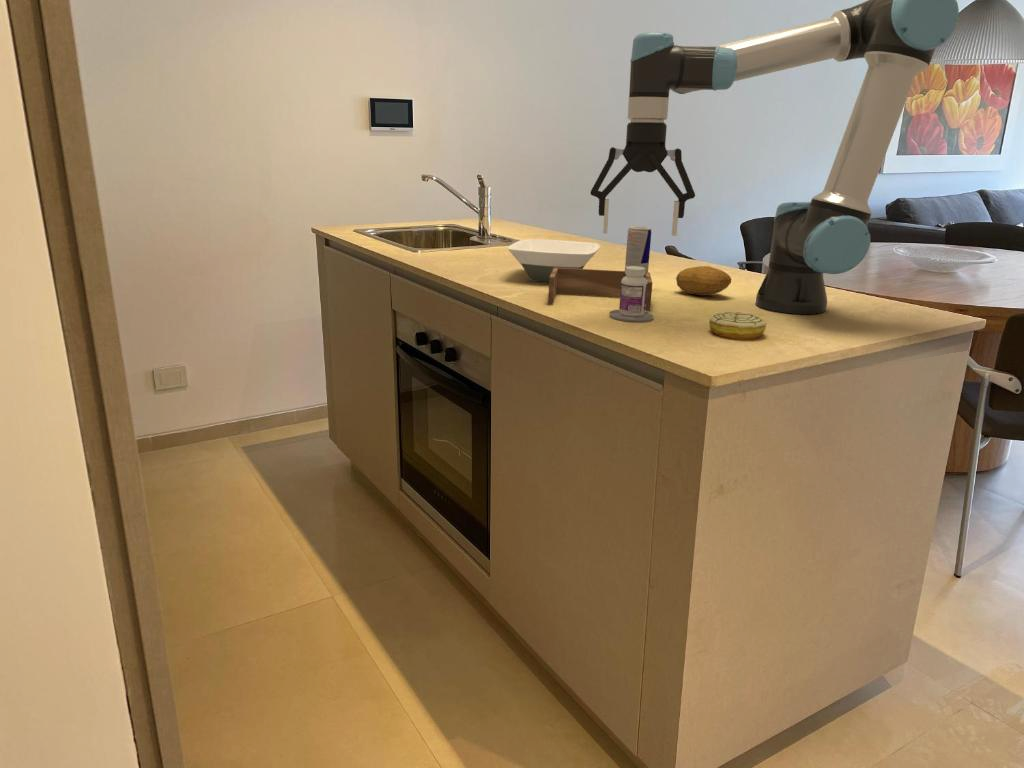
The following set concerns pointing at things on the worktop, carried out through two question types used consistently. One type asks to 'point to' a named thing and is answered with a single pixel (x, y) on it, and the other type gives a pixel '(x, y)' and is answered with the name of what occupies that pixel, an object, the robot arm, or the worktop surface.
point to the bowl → (551, 256)
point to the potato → (703, 280)
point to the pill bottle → (633, 292)
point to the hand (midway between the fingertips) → (639, 234)
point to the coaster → (646, 317)
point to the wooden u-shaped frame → (590, 283)
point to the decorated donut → (737, 325)
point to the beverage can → (638, 247)
